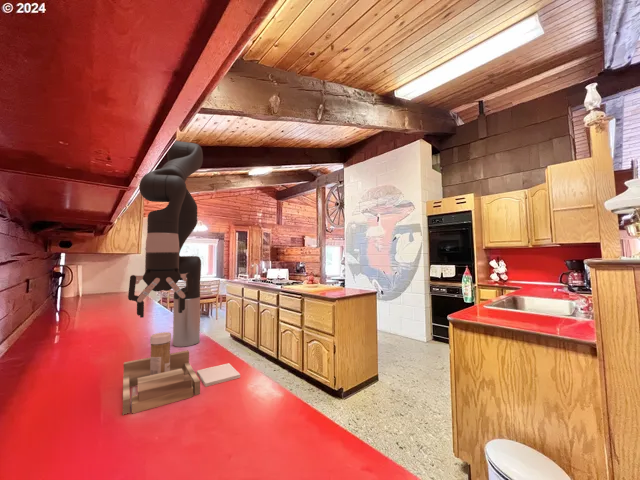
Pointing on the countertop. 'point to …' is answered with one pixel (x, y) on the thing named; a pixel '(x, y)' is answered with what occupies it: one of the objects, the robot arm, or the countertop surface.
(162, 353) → the sprinkles bottle
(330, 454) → the countertop surface
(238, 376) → the cream mat
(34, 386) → the countertop surface
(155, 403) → the frame
